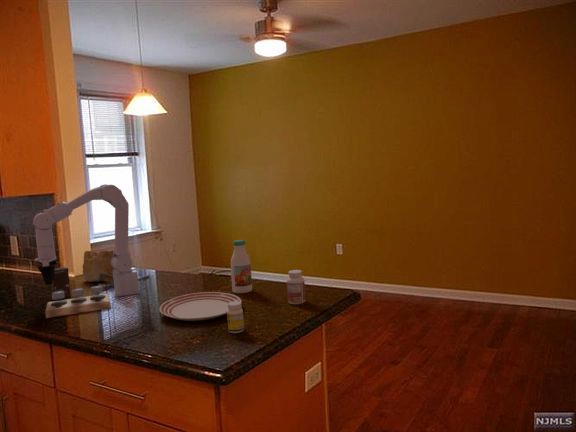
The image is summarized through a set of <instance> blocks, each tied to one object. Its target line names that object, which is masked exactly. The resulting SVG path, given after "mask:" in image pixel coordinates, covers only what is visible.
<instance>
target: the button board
mask: <svg viewBox="0 0 576 432" xmlns="http://www.w3.org/2000/svg"><path fill="white" fill-rule="evenodd" d="M111 305H112V304H111V297H110V293H103V294H102V293H100V294H93V295H89V296H88V295H87V296H80V297H73V298H66V299H59V300H53V301H48V302H47V304H46V306H45V307H46V308H45V310H44V311H45V312H44V313H45V318H46V319H50V318H56V317H62V316H63V317H64V316H68V315H69V316H70V315H74V314H80V313H81V312H82V313H86V312H92V311H93V312H94V311H99V310H106V309H111V308H112V306H111Z"/></svg>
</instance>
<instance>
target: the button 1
mask: <svg viewBox="0 0 576 432" xmlns="http://www.w3.org/2000/svg"><path fill="white" fill-rule="evenodd" d="M51 297H52V300H53V301H59V300H63V299H65V298H64V297H65V296H64V291H58V292H54V293H53V292H52V293H51ZM62 298H63V299H62Z"/></svg>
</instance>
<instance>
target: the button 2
mask: <svg viewBox="0 0 576 432" xmlns="http://www.w3.org/2000/svg"><path fill="white" fill-rule="evenodd" d="M90 292H91V294H92V295H100V294H102V293H103V292H104V288H103V286H102V285H95V286H91V287H90Z"/></svg>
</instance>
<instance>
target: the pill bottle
mask: <svg viewBox="0 0 576 432" xmlns="http://www.w3.org/2000/svg"><path fill="white" fill-rule="evenodd" d="M302 275H303V271H302V270H300V269H293V270H289V271H288V278H287V279H286V290H287V302H288V304H290V305H302V304H304V303H305V302H306V287H305V285H306V284H305V278H304V277H303V276H302Z"/></svg>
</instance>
